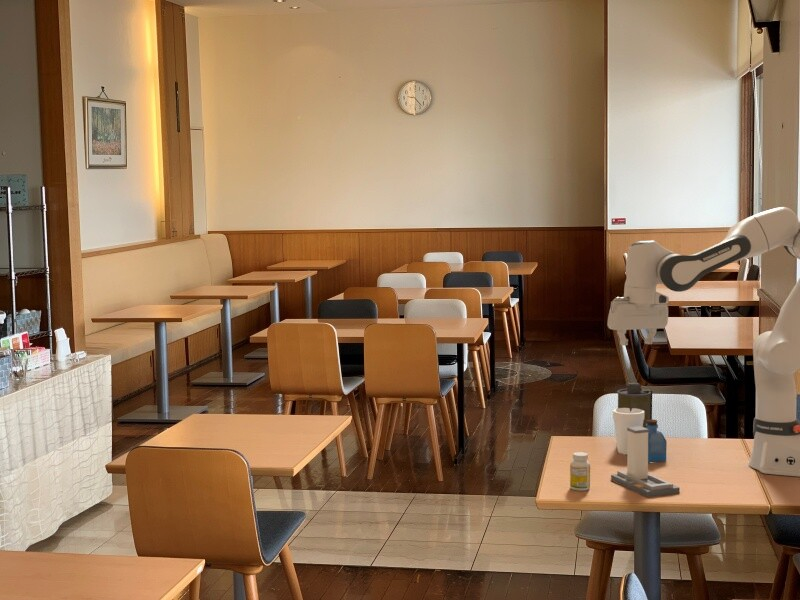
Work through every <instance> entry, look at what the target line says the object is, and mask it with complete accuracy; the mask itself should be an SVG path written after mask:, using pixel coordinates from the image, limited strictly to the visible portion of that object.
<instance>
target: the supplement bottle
mask: <svg viewBox="0 0 800 600" xmlns="http://www.w3.org/2000/svg"><path fill="white" fill-rule="evenodd" d="M588 456H589V455H588V453H586V452H581V451H580V452H579V451H578V452H576V451H575V452H574V453H572V459H573V460H571V461H570V464H569V465H570V466H569V471H570V472H569V474H570V475H569V481H570V482H569V486H570V489H571V490H572V491H579V492H580V491H581V492H582V491H583V492H584V491H588V490H590V488H591V463H590V461H588V459H589V457H588Z"/></svg>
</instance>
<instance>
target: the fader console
mask: <svg viewBox="0 0 800 600" xmlns="http://www.w3.org/2000/svg"><path fill="white" fill-rule="evenodd" d="M616 472H617V473H615V474H614V473H613V474H611V476H610V480H611V481H613V482H614V481H615V483H616V482H617V483H616V484H619V485H621V486H623V487H625V488H626V489H629V490H631V491H633V492H636V493H638V494H640V495H642V496H643V497H646V498H651V497H653V498H654V497H659V496H667V495H675V494H674V493H676V494H680V492H681V491H680V489H681V488H680V487H679V486H677V485H675V484H673V483H672V482H670V481H667V480H665V479H662V478H660V477H658V476H657V475H656V476H655V475H654V474H651V473H649V472H648V478H647V479H638V478H636V477H633V476H631V475H629V474H627V470H623V471H622V470H617V471H616Z"/></svg>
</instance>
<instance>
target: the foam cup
mask: <svg viewBox="0 0 800 600" xmlns="http://www.w3.org/2000/svg"><path fill="white" fill-rule="evenodd" d="M612 419H613V422H614V423H613V424H614V431H615V432H614V433H615V439H616V448H617V452H618V454H621V453H623V454H622V455H626V454H627V442H628V431H627V427H637V426H641V427H643V420H644V410H642V409H636V408H632V411H631V412H630V408H618V407H617V408H615V409H613V411H612Z"/></svg>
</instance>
